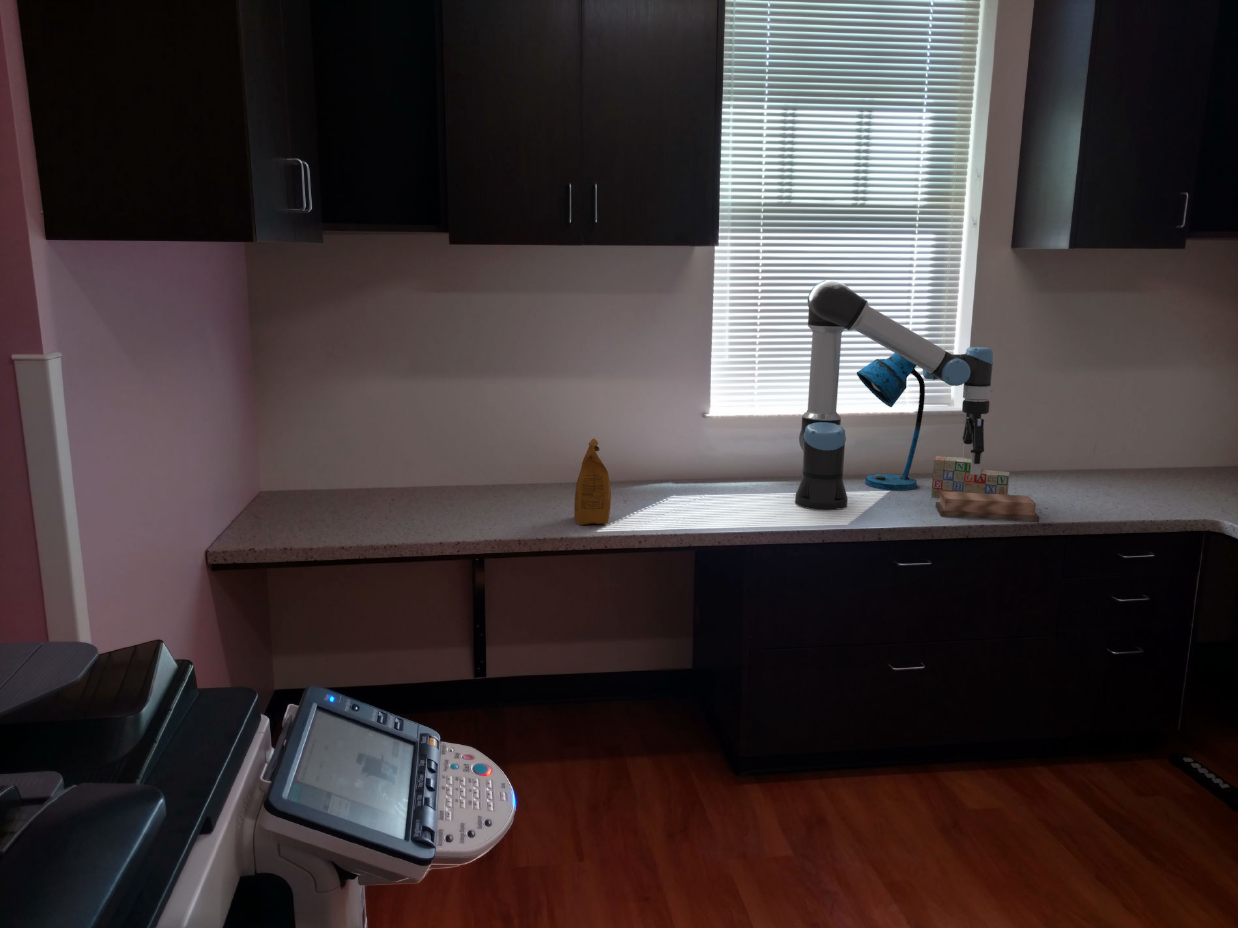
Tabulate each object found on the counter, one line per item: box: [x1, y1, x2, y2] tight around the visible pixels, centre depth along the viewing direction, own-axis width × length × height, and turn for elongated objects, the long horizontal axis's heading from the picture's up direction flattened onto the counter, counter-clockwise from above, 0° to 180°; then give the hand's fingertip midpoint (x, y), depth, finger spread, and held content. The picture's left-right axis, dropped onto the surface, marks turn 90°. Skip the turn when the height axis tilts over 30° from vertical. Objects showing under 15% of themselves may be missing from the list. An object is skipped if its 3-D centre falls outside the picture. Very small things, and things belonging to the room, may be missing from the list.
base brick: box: [934, 491, 1040, 523], centre depth 266 cm, size 26×11×5 cm, turn 80°
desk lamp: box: [856, 352, 926, 491], centre depth 297 cm, size 16×22×45 cm
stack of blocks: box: [930, 455, 1011, 500], centre depth 282 cm, size 21×6×12 cm, turn 64°
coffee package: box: [573, 437, 612, 526], centre depth 252 cm, size 10×12×22 cm
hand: (971, 469), depth 281 cm, fingers open, 13 cm apart
